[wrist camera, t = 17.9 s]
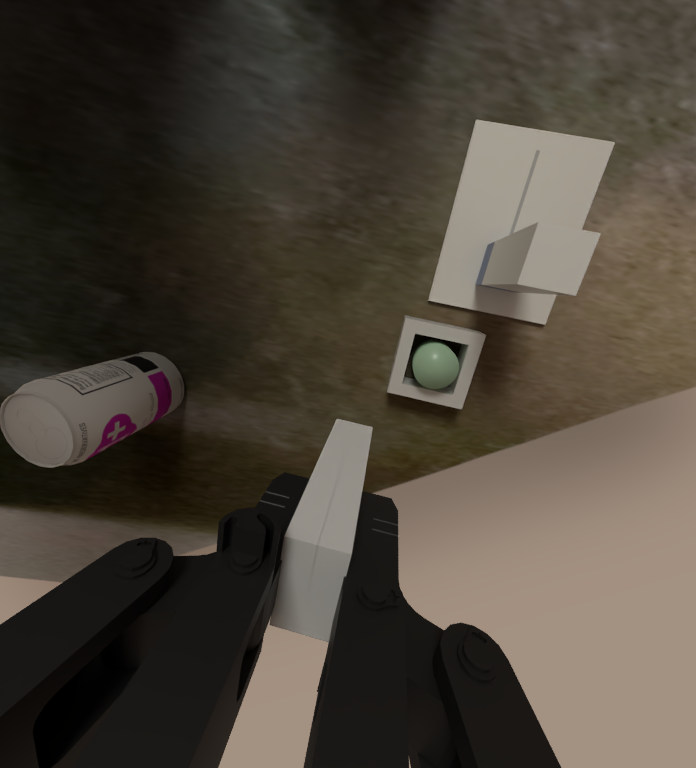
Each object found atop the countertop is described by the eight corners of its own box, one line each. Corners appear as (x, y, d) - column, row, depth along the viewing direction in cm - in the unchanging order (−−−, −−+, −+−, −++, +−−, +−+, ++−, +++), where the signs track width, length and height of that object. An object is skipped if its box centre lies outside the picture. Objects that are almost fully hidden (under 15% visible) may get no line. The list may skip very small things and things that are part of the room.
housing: (404, 315, 35) (405, 317, 32) (478, 331, 35) (486, 335, 32) (387, 384, 38) (387, 392, 35) (456, 400, 37) (461, 409, 34)
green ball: (417, 335, 35) (419, 341, 32) (457, 344, 35) (464, 351, 31) (407, 374, 37) (408, 383, 33) (446, 382, 36) (451, 393, 33)
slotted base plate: (475, 121, 30) (476, 119, 29) (612, 144, 29) (615, 142, 28) (428, 300, 34) (428, 300, 34) (543, 324, 34) (545, 324, 33)
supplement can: (200, 388, 41) (97, 442, 27) (160, 422, 44) (47, 488, 29) (155, 337, 40) (23, 365, 26) (117, 375, 43) (-23, 421, 28)
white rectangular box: (487, 244, 32) (538, 221, 20) (527, 252, 32) (601, 233, 20) (475, 284, 33) (517, 284, 22) (513, 292, 33) (575, 295, 21)
